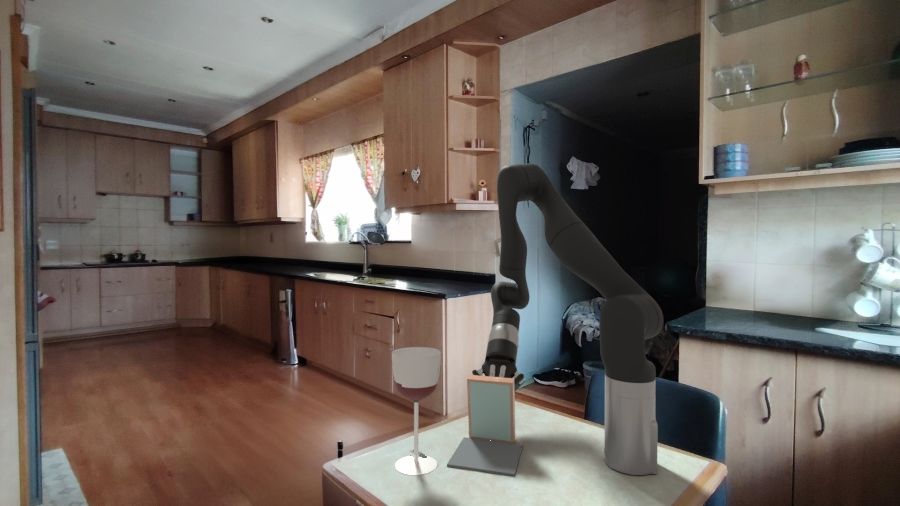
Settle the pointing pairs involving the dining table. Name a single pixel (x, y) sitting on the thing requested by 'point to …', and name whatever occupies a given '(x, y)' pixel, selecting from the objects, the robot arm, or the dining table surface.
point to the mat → (486, 456)
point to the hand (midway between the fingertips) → (493, 411)
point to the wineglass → (416, 395)
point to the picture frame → (491, 408)
